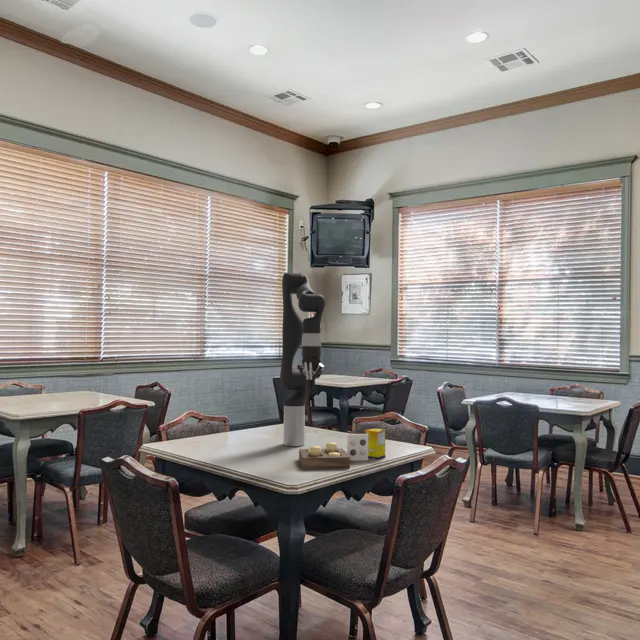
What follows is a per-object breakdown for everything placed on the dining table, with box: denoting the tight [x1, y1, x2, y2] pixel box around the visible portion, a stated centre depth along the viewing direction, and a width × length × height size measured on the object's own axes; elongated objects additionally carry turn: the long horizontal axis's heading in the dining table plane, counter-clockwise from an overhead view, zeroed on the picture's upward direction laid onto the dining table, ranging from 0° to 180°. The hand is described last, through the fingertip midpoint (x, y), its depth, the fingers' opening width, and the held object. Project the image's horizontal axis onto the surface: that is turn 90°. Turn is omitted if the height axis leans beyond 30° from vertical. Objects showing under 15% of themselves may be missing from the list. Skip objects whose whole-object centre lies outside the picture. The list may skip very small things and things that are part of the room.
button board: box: [298, 448, 351, 470], centre depth 226 cm, size 17×17×4 cm
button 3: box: [325, 441, 338, 453], centre depth 230 cm, size 4×4×3 cm
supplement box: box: [364, 427, 386, 460], centre depth 240 cm, size 6×6×11 cm
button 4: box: [329, 452, 340, 456], centre depth 223 cm, size 4×4×3 cm
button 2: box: [309, 445, 322, 457], centre depth 223 cm, size 4×4×3 cm
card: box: [346, 433, 369, 461], centre depth 234 cm, size 1×8×10 cm, turn 97°
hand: (310, 389), depth 236 cm, fingers closed
